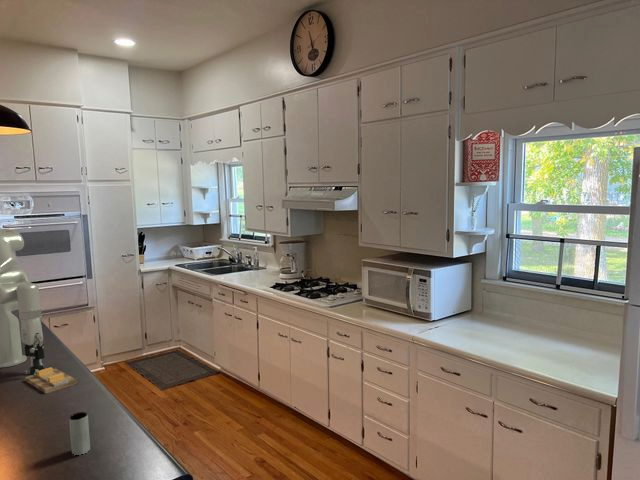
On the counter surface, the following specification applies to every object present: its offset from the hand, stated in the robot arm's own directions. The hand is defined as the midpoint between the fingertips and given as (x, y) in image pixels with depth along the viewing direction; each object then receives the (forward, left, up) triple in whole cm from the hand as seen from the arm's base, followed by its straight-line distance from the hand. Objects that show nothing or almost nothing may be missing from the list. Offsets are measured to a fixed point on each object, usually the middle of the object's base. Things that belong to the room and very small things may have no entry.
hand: (35, 357), depth 186 cm
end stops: (+15, 0, -5) cm, 15 cm away
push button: (-1, 0, -7) cm, 7 cm away
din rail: (+15, 0, -5) cm, 15 cm away
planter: (+74, -15, -7) cm, 75 cm away
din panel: (+15, 0, -7) cm, 16 cm away
